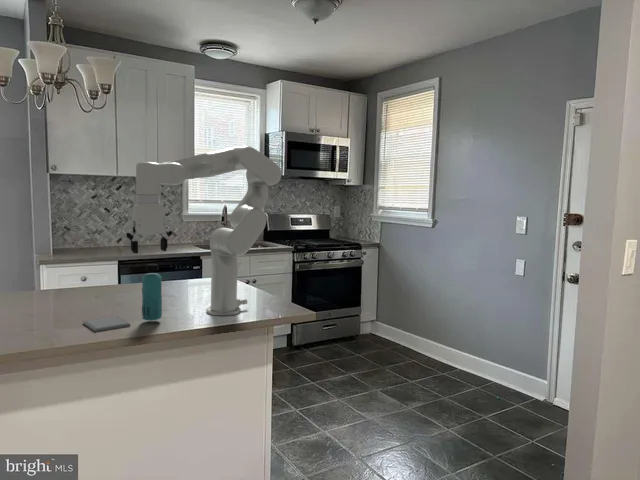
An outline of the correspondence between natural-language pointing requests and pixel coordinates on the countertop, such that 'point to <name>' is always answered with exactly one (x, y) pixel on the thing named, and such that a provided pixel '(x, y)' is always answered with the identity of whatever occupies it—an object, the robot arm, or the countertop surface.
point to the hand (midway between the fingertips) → (149, 251)
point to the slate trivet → (106, 324)
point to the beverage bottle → (151, 294)
